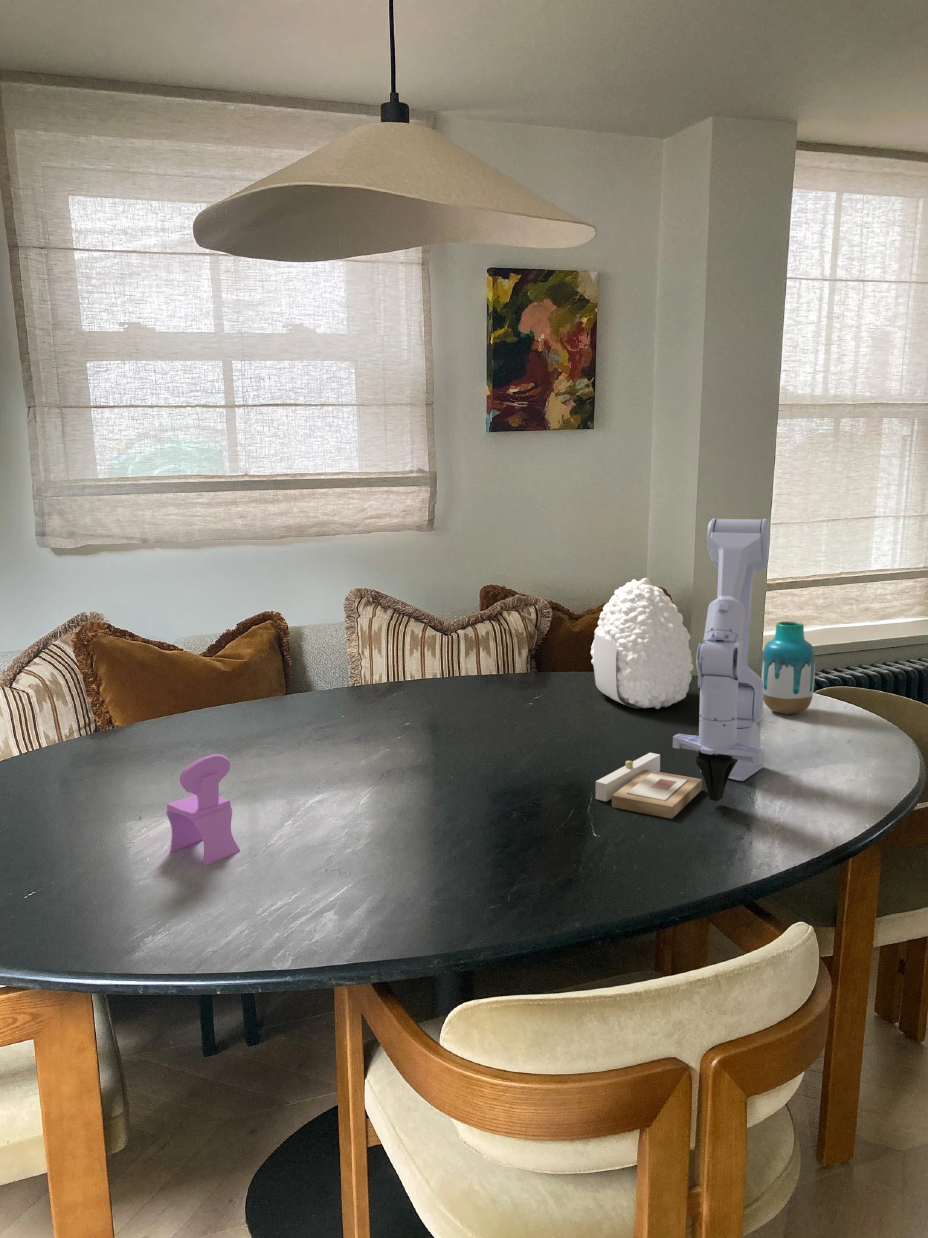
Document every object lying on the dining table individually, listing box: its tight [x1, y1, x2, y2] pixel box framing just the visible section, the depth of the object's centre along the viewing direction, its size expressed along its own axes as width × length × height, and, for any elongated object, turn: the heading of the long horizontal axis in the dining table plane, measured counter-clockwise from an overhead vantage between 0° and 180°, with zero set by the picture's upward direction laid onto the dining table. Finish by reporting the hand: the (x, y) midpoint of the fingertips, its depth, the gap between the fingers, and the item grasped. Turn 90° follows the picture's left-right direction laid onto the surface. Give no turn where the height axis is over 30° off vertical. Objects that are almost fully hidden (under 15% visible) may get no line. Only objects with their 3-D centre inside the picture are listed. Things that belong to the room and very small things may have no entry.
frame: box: [611, 770, 703, 819], centre depth 154 cm, size 14×10×3 cm
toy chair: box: [165, 753, 241, 867], centre depth 137 cm, size 8×9×15 cm
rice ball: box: [590, 577, 694, 710], centre depth 210 cm, size 28×19×28 cm
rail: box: [595, 752, 661, 802], centre depth 160 cm, size 18×2×4 cm, turn 140°
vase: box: [760, 620, 816, 715], centre depth 198 cm, size 11×11×19 cm
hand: (715, 798), depth 150 cm, fingers closed
